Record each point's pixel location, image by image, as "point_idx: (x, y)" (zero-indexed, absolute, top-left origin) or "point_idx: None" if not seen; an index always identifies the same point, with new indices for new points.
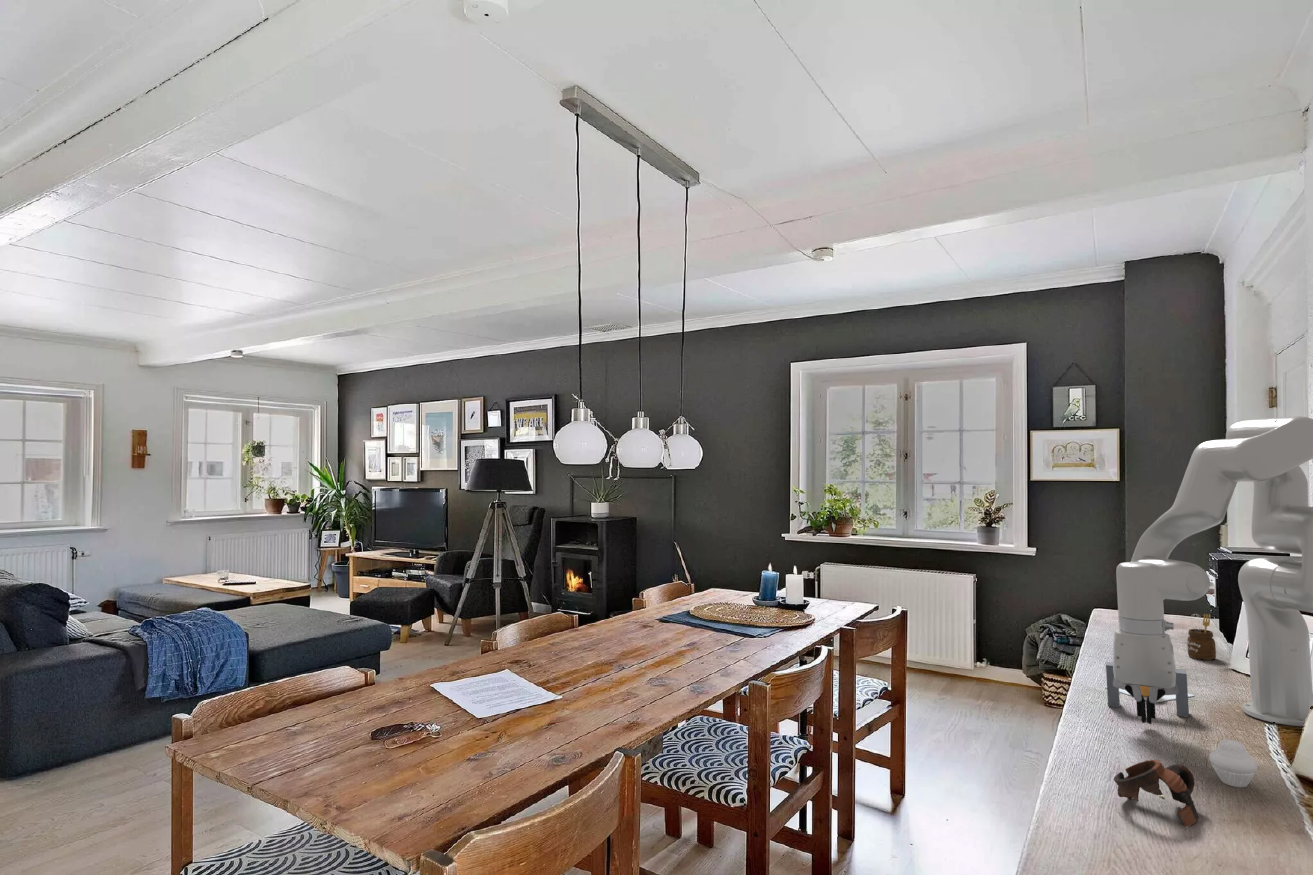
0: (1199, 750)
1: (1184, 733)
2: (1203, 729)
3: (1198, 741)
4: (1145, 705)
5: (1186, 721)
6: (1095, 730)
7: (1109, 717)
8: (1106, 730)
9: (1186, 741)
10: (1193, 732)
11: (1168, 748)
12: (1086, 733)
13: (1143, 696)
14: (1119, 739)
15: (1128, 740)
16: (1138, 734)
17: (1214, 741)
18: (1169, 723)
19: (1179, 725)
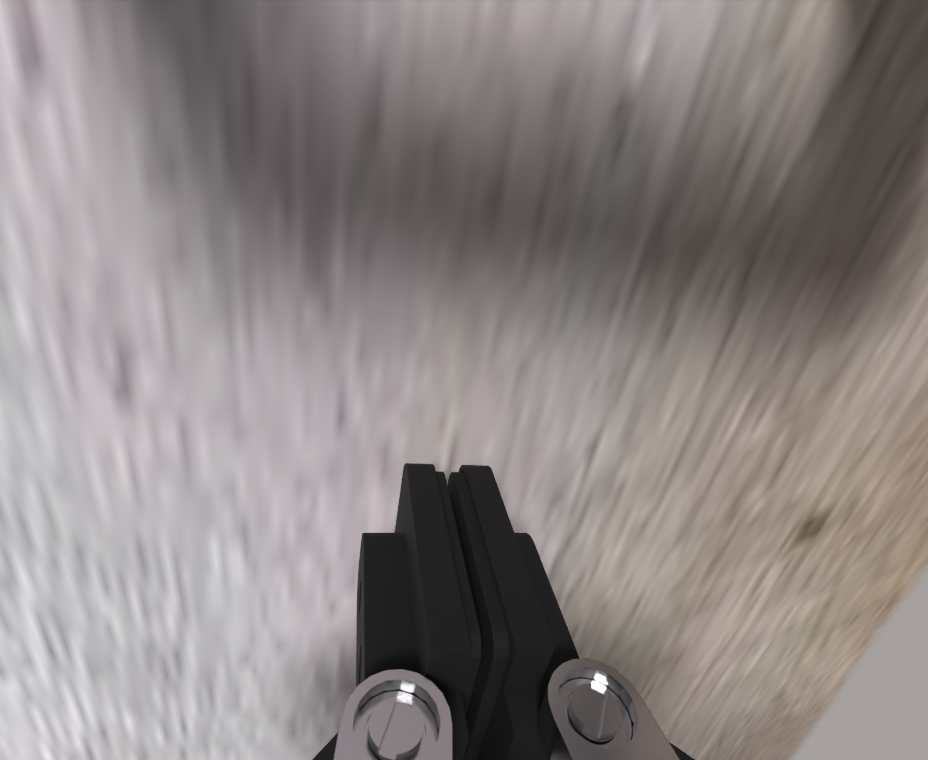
0: (635, 677)
1: (670, 457)
2: (856, 305)
3: (691, 563)
4: (465, 574)
5: (842, 99)
6: (48, 659)
7: (73, 270)
8: (127, 626)
9: (621, 591)
10: (743, 410)
11: None
12: (7, 730)
13: (463, 755)
14: (236, 724)
15: (289, 715)
16: (354, 604)
17: (784, 525)
18: (652, 241)
19: (716, 270)
